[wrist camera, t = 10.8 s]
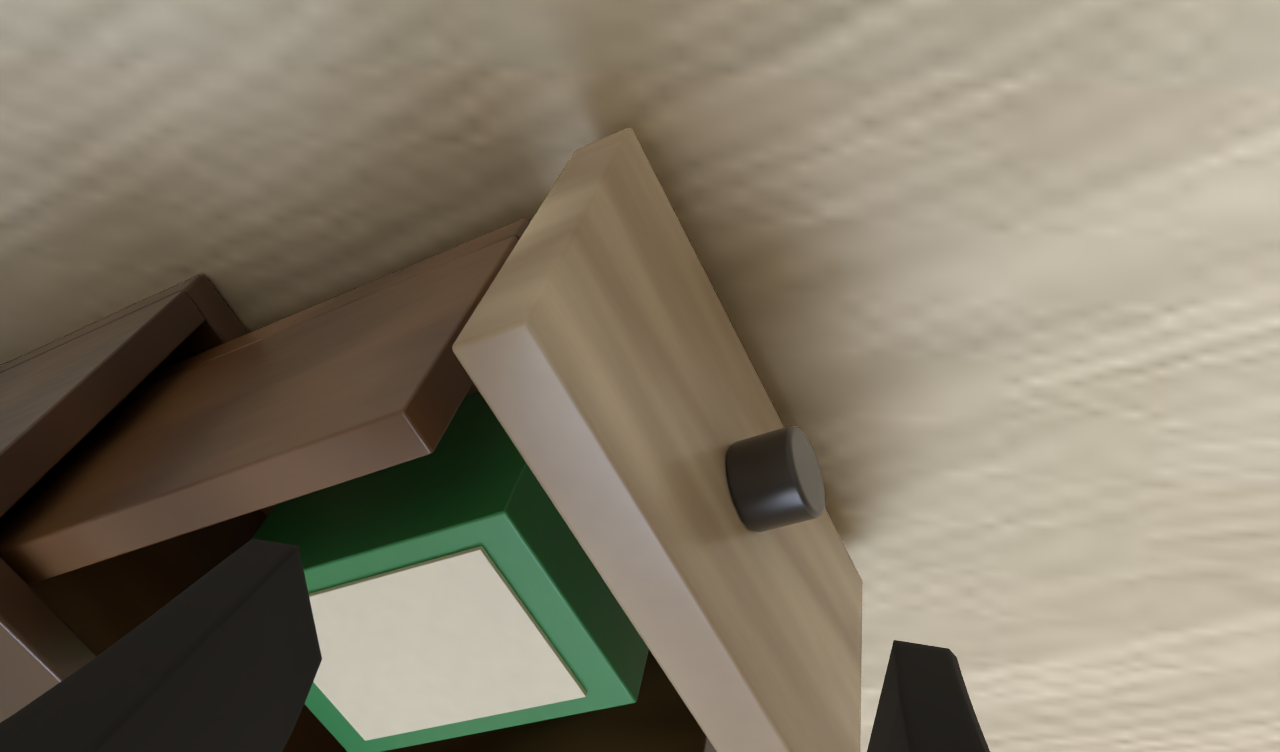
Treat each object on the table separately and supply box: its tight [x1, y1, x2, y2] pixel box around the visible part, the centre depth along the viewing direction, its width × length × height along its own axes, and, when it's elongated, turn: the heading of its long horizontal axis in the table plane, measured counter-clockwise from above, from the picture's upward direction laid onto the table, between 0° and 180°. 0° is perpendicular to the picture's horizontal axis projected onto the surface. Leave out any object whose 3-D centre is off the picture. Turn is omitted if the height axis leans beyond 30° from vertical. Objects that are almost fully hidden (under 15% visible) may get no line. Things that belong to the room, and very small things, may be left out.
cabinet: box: [0, 274, 248, 723], centre depth 25 cm, size 14×13×9 cm
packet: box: [252, 392, 649, 752], centre depth 20 cm, size 5×6×5 cm
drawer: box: [0, 128, 862, 752], centre depth 20 cm, size 14×11×7 cm
